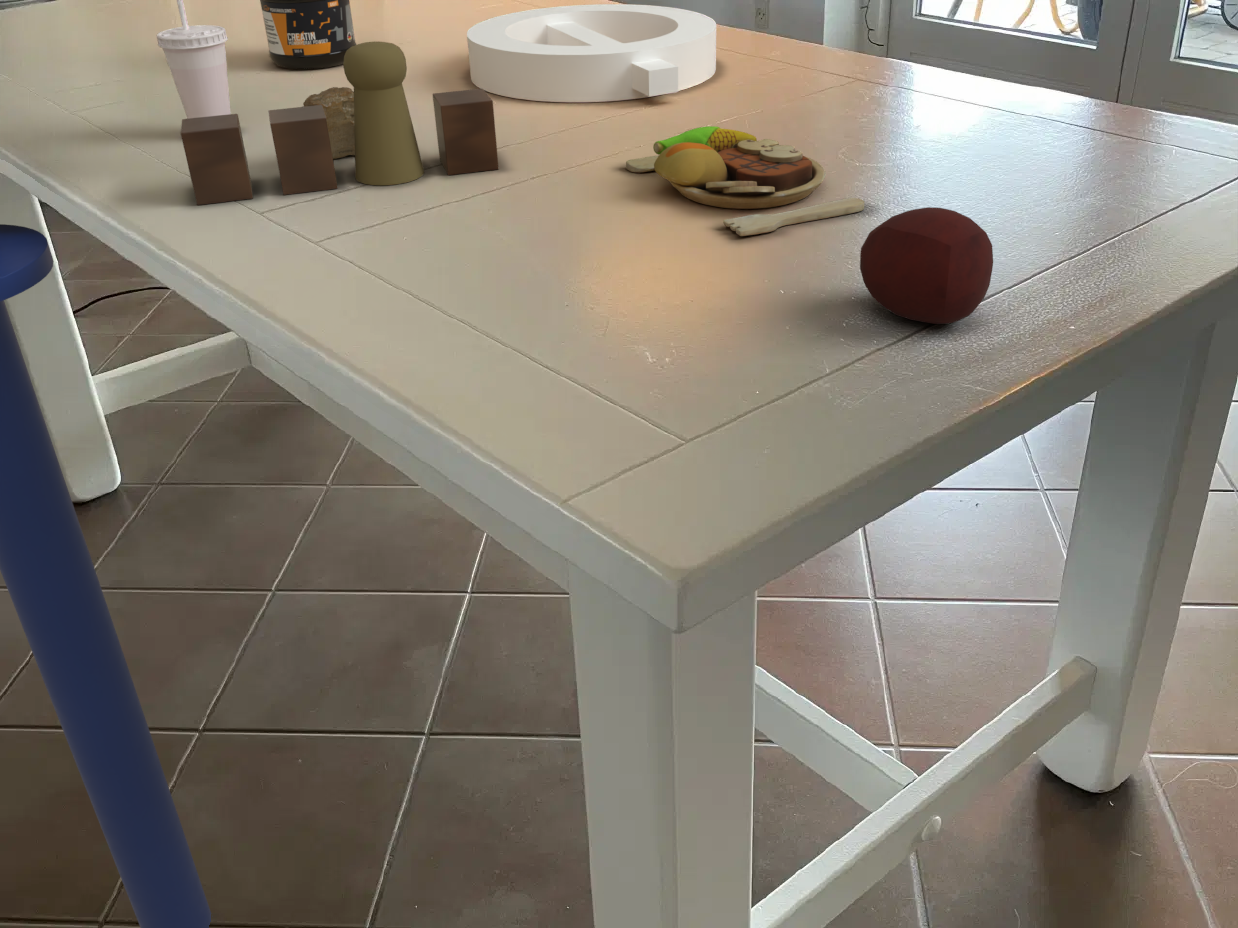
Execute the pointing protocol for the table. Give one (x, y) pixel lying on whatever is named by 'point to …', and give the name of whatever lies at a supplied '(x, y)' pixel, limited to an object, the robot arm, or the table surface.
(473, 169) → the block
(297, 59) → the supplement container
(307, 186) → the block
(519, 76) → the white circle with bar
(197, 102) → the smoothie
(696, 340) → the table surface
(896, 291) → the potato
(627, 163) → the toy food set
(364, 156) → the olive round-topped cone
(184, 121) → the block
